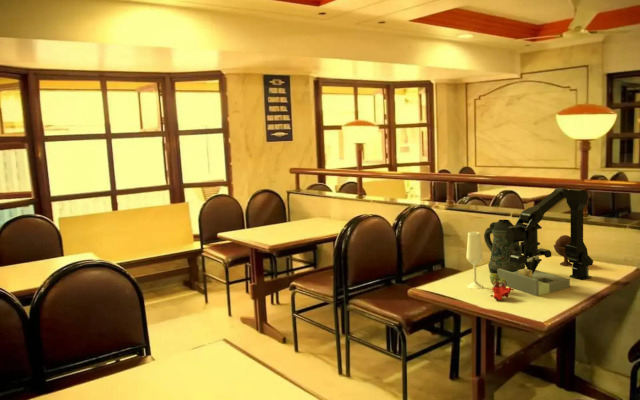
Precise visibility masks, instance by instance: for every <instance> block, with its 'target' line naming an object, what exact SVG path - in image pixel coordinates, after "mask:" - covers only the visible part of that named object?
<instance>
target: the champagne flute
mask: <svg viewBox="0 0 640 400" xmlns="http://www.w3.org/2000/svg"><path fill="white" fill-rule="evenodd" d="M465 258H466V260H467V262H469V263H470V264H471V265H472V267H473V268H472V270H473V271H472V274H473V281H472V282H471V283H470V284H468V285H467V288H469V289H475V290H476V289H478V290H479V289H482V288H483V287H484V285H482V284H481V283H479V282H477V265H478V264H480V262H481V261H482V260H483V251H482V243H481V235H480V232H479V231H469V232H467V245H466V257H465Z"/></svg>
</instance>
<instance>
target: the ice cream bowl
mask: <svg viewBox="0 0 640 400" xmlns="http://www.w3.org/2000/svg"><path fill="white" fill-rule="evenodd" d="M570 241H571V235H570V236H569V235H567V234H564V235H561V236H559V237H558V239H556V240H555V244H553V249H554V251H555V252H556V254H558V255H559V256H561V257H563V261H562V262H560V263H559V265H560V266H562V267H573V263H571V262H569V260H568V258H567V257H566V254H565V245H568V244H569V243H570Z"/></svg>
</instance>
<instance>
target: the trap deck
mask: <svg viewBox="0 0 640 400" xmlns="http://www.w3.org/2000/svg"><path fill="white" fill-rule="evenodd" d="M497 275H498V276H499V278H500V279H502V278H503V279H506V282H507V286H506V288H510V287H511V289H514V290H517V291H519V292H523V293H525V294H528V295H532V296H535V297H537V296H542V295H545V294H549V293H552V292H556V291H560V290H564V289H568V288H570V287H571V285H570V284H571V283H570V282H571V280H570V278H567V277H563V276H559V275H556V274H552V273H549V272H544V271H542V270H537V269H536V270H535V271H534V273H533V275H532V278H530V277H527V276H524V275H520V274H518V271H516V272H510V271H506V270H503V269H497Z"/></svg>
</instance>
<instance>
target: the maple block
mask: <svg viewBox="0 0 640 400" xmlns="http://www.w3.org/2000/svg"><path fill="white" fill-rule="evenodd" d="M518 274H520V275H524V276H527V277H530V278H532V270H528V269H527V268H525V269H520V270H518Z"/></svg>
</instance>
